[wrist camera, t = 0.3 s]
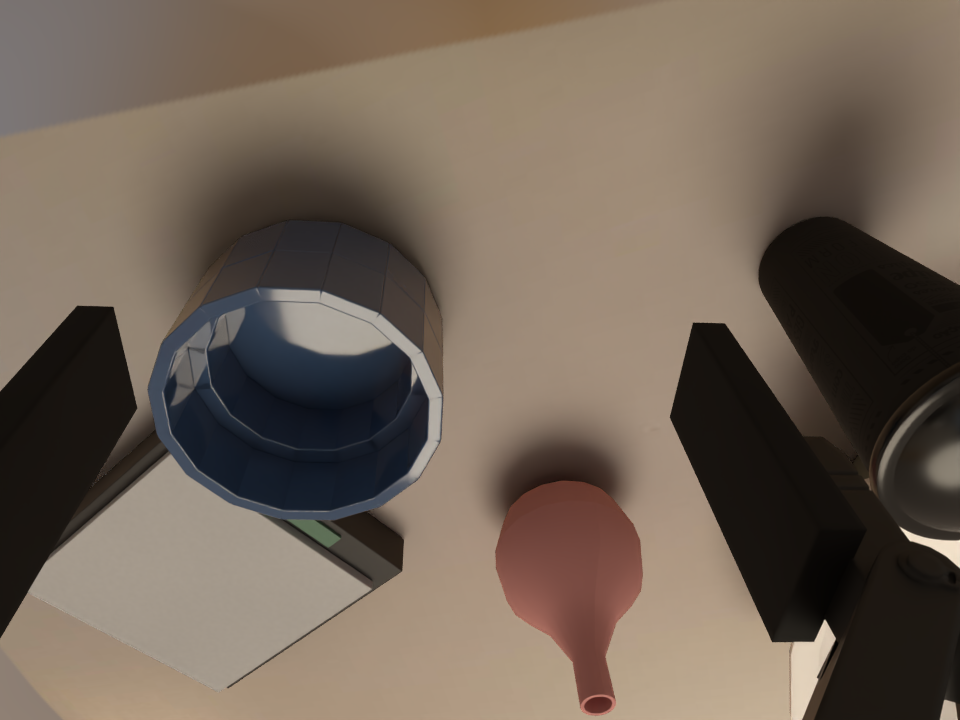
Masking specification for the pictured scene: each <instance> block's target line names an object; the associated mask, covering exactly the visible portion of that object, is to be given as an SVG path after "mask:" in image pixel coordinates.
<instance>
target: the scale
mask: <svg viewBox="0 0 960 720" xmlns="http://www.w3.org/2000/svg"><path fill="white" fill-rule="evenodd" d="M403 546H404V540H403V539H402V538H401V537H400V536H398V535H397V534H395V533H394V532H393V531H391V530H390V529H389V528H387V527H386V526H385V525H383V524H382V523H380V522H379V521H378V520H376V519H375V518H374V517H372V516H371V515H370V514H368V513H367V512H365V511H364V512H361V513H358V514H354V515H351V516H347V517H344V518H340V519H337V520H283V519H282V518H281V519H278V518H275V517H271V516H268V515H265V514H261V513H258V512H255V511H251V510H248V509H245V508H241V507H238V506H235V505H232V504H229V503H228V502H226V501H225V500H223V499H222V498H220V497H219V496H217V495H216V494H214V493H213V492H211V491H210V490H208V489H207V488H205V487H204V486H202V485H201V484H199V483H198V482H196V481H195V480H193V479H192V478H190V477H189V476H188V475H186V474H185V472H184V471H183V470H182V468H181V467H180V466H179V464H178V463H177V462H176V460H175V459H174V458H173V456H172V455H171V453H170V452H169V451H168V449H167V448H166V447H165V445H164V444H163V443H162V441H161V440H160V439H159V437H158V435H157V432H156V430H155V431H154V432H153V433H152V434H151V435H149V436H148V437H147V438H146V439H145V440H144V441H143V442H142V443H141V444H139V445H138V446H137V447H136V448H135V449H134V450H133V451H132V452H130V453H129V454H128V455H127V456H126V457H125V458H124V459H123V460H121V461H120V462H119V463H118V464H117V465H116V466H115V467H114V468H113V469H111V470H110V471H109V472H108V473H107V474H106V475H105V476H104V477H102V478H101V479H100V480H99V481H98V482H97V483H96V484H95V485H93V486H92V487H91V488H90V489H89V490H88V492H87V494H86V495H85V497H84V499H83V500H82V502H81V504H80V505H79V507H78V509H77V510H76V512H75V514H74V515H73V517H72V519H71V520H70V522H69V524H68V525H67V527H66V529H65V530H64V532H63V534H62V535H61V537H60V539H59V541H58V542H57V544H56V546H55V547H54V549H53V551H52V552H51V554H50V556H49V557H48V559H47V561H46V562H45V564H44V566H43V567H42V569H41V571H40V572H39V574H38V576H37V577H36V579H35V581H34V582H33V584H32V586H31V588H30V589H29V591H28V593H29V594H30V595H32V596H34V597H36V598H38V599H40V600H42V601H44V602H46V603H48V604H50V605H52V606H53V607H55V608H57V609H59V610H61V611H63V612H65V613H67V614H69V615H71V616H73V617H75V618H77V619H78V620H80V621H82V622H84V623H86V624H88V625H90V626H92V627H94V628H96V629H98V630H100V631H101V632H103V633H105V634H107V635H109V636H111V637H113V638H115V639H117V640H119V641H121V642H123V643H125V644H126V645H128V646H130V647H132V648H134V649H136V650H138V651H140V652H142V653H144V654H146V655H148V656H150V657H151V658H153V659H155V660H157V661H159V662H161V663H163V664H165V665H167V666H169V667H171V668H173V669H174V670H176V671H178V672H180V673H182V674H184V675H186V676H188V677H190V678H192V679H194V680H196V681H198V682H199V683H201V684H203V685H205V686H207V687H209V688H211V689H213V690H215V691H217V692H220V691H222V690H223V689H225V688H229V687H231V686H232V685H234V684H235V683H237V682H238V681H240V680H241V679H243V678H244V677H246V676H247V675H249V674H250V673H252V672H253V671H255V670H256V669H258V668H259V667H261V666H262V665H264V664H265V663H267V662H268V661H270V660H271V659H273V658H274V657H276V656H277V655H278V654H280V653H281V652H283V651H284V650H286V649H287V648H289V647H290V646H292V645H293V644H295V643H296V642H298V641H299V640H301V639H302V638H304V637H305V636H307V635H308V634H310V633H311V632H313V631H314V630H316V629H317V628H319V627H320V626H322V625H323V624H325V623H326V622H328V621H329V620H331V619H332V618H334V617H335V616H336V615H338V614H339V613H341V612H342V611H344V610H345V609H347V608H348V607H350V606H351V605H353V604H354V603H356V602H357V601H359V600H360V599H362V598H363V597H365V596H366V595H368V594H369V593H371V592H372V591H374V590H375V589H377V588H378V587H380V586H381V585H383V584H384V583H386V582H387V581H389V580H390V579H392V578H393V577H394V576H396V575H397V574H399V573H400V572H402V566H403Z"/></svg>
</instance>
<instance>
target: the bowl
mask: <svg viewBox="0 0 960 720" xmlns="http://www.w3.org/2000/svg"><path fill="white" fill-rule="evenodd" d="M853 465H854V467H855V468H856V469H857V471H858V475H861V476H862V477H863V479H864V480H865V481H866V483H867V484H868V485H869V490H870V491H872V490H871V487H870V480H869V472H868V471H867V469H866V467H865V466H864V464H863V462H862V461H861V459H860V457H859V456H857V458H856V459H855V460H854V462H853ZM900 528H901V527H900ZM901 530H902V531H903V532H904V534H905V535H906V536H907V538H908V539H909V540H910V541H913V542H916V543H919V544H922V545H925V546H928V547H931V548H932V549H934V550H936V551H938V552H940V553H941V554H943V555H945V556H946V557H948V558H949V559H950V560H951V561H952V562H953V563H954V564H956V565H957V566H958V567H959V568H960V540H958V541H948V540H935V539H930V538H925V537H921V536H918V535H915V534H913V533H910V532H908V531H906V530H904V529H902V528H901ZM835 639H836V638H835V636H834V635H833V633H832V631H831V629H830V627H829V625H828V624H827V622H826V620H824V622H823V624H822V626H821V628H820V630H819V633H818V635H817V637H816V639H815V641H814V642H792V643H791V647H790V650H789V653H790V715H791V718H792V720H802V719H803V716H804V714H805V711H806V709H807V706H808V704H809V701H810V699H811V696H812V694H813V691H814V689H815V686H816V684H817V681H818V678H817V676H818V674H819V672H820V670H821V668H822V666H823V664H824V662H825V660H826V657H827V655H828V653H829V651H830V649H831V647H832V645H833V643H834V641H835ZM940 720H958V718H957V711H956V704H955V702H951V701H948V700H944V703H943V707H942V712H941V716H940Z"/></svg>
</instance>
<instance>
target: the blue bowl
mask: <svg viewBox="0 0 960 720" xmlns="http://www.w3.org/2000/svg"><path fill="white" fill-rule="evenodd" d="M148 394H149V399H150V404H151V409H152V413H153V418H154V423H155V428H156V432H157V435H158V437H159V439H160V440H161V441H162V443H163V444H164V445H165V447H166V448H167V449H168V451H169V452H170V453H171V455H172V456H173V458H174V459H175V460H176V462H177V463H178V464H179V466H180V467H181V468H182V470H183V471H184V472H185V474H186V475H188V476H189V477H190V478H192V479H193V480H195V481H196V482H198V483H199V484H201V485H202V486H204V487H205V488H207V489H208V490H210V491H211V492H213V493H214V494H216V495H217V496H219V497H220V498H222V499H223V500H225V501H226V502H228V503H229V504H232V505H235V506H238V507H241V508H245V509H248V510H251V511H255V512H258V513H261V514H265V515H268V516H271V517H275V518H278V519H281V518H282V519H283V520H337V519H340V518H344V517H347V516H351V515H354V514H358V513H361V512H364V511H368V510H371V509H375V508H378V507H381V506H382V505H384V504H385V503H386V502H388V501H389V500H391V499H392V498H393V497H395V496H396V495H398V494H399V493H400V492H402V491H403V490H405V489H406V488H407V487H409V486H410V485H411V484H413V483H414V482H416V481H417V480H418V479H419V478H420V476H421V474H422V473H423V471H424V469H425V468H426V466H427V464H428V462H429V461H430V459H431V457H432V456H433V454H434V452H435V451H436V449H437V447H438V445H439V444H440V441H441V435H442V415H443V333H442V317H441V314H440V312H439V310H438V307H437V305H436V302H435V300H434V298H433V295H432V293H431V290H430V288H429V286H428V283H427V281H426V279H425V277H424V276H423V275H422V274H421V273H420V272H419V271H418V270H417V269H416V268H415V267H414V266H413V265H412V264H411V263H410V262H409V261H408V260H407V259H406V258H405V257H404V256H403V255H402V254H401V253H400V252H399V251H398V250H396V249H395V248H394V247H393V246H392V245H391V244H389V243H388V242H386V241H384V240H381V239H379V238H377V237H374V236H372V235H370V234H367V233H365V232H363V231H360V230H358V229H355V228H353V227H351V226H348V225H346V224H344V223H341V222H322V221H301V220H289V221H288V220H287V221H284V222H281V223H278V224H275V225H272V226H269V227H267V228H264V229H261V230H258V231H255V232H252V233H249V234H247V235H244V236H242V237H241V238H239V239H238V240H237V241H236V242H235V243H234V244H233V245H232V246H231V247H230V248H229V249H228V250H227V251H225V252H224V253H223V254H222V255H221V256H220V257H219V258H218V259H217V260H216V261H215V262H214V263H213V264H212V265H211V266H210V267H209V268H208V270H207V271H206V273H205V274H204V276H203V278H202V279H201V281H200V282H199V284H198V286H197V287H196V289H195V290H194V292H193V294H192V295H191V297H190V298H189V300H188V301H187V303H186V305H185V306H184V308H183V309H182V311H181V313H180V314H179V316H178V317H177V319H176V321H175V322H174V324H173V325H172V327H171V329H170V330H169V332H168V333H167V335H166V337H165V338H164V340H163V341H162V343H161V346H160V349H159V352H158V355H157V358H156V362H155V365H154V368H153V371H152V374H151V378H150V381H149V384H148Z"/></svg>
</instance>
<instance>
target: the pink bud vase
mask: <svg viewBox="0 0 960 720" xmlns="http://www.w3.org/2000/svg"><path fill="white" fill-rule="evenodd" d="M495 553H496V569H497V572H498V575H499V578H500V581H501V584H502V587H503V590H504V593H505V596H506V599H507V602H508V603H509V605H510V607H511V608H512V610H513V611H514V613H515V615H517V616H518V617H520V618H521V619H522V620H524V621H525V622H527V623H528V624H530V625H531V626H533V627H535V628H537V629H538V630H540V631H542V632H544V633H546V634H548V635H549V636H551V637H552V638H553V640H554V641H555V642H556V643H557V644H558V646H559V647H560V648H561V649H562V650H563V651H564V653H565V654H566V655H567V656H568V657H569V659H570V660H571V661H572V662H573V667H574V673H575V679H576V684H577V690H578V696H579V702H580V708H581V710H582V712H584V713H586V714H588V715H595V716H598V715H603V714H606V713H608V712H610V711H611V710H613V709H614V707H615V706H616V700H615V696H614V692H613V688H612V683H611V679H610V675H609V671H608V666H607V662H606V658H605V656H606V653H607V650H608V647H609V644H610V641H611V638H612V635H613V632H614V628H615V625H616V623H617V622H618V620H619V619H620V618H621V617H622V616H623V615H624V614H625V613H626V612H627V611H628V609H629V608H630V607H631V606H632V604H633V603H634V601H635V600H636V598H637V596H638V595H639V593H640V592H641V586H642V577H643V572H642V559H641V546H640V539H639V537H638V534H637V532H636V530H635V527H634V525H633V523H632V522H631V521H630V519H629V518H628V517H627V516H626V514H625V513H624V512H623V511H622V509H621V508H620V507H619V506H618V505H617V503H616V502H615V501H614V500H613V499H612V498H611V497H610V496H609V495H608V494H607V493H605V492H604V491H603V490H602V489H601V488H598V487H596V486H593V485H590V484H588V483H585V482H578V481H558V482H553V483H548V484H543V485H540V486H538V487H536V488H534V489H532V490H530V491H528V492H526V493H524V494H523V495H522V496H521V497H520V498H519V499H518V500H517V501H516V502H515V503H514V504H513V505H512V506H511V507H510V509H509V511H508V513H507V515H506V518H505V520H504V523H503V526H502V530H501V533H500V537H499V540H498V544H497V547H496V550H495Z"/></svg>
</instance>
